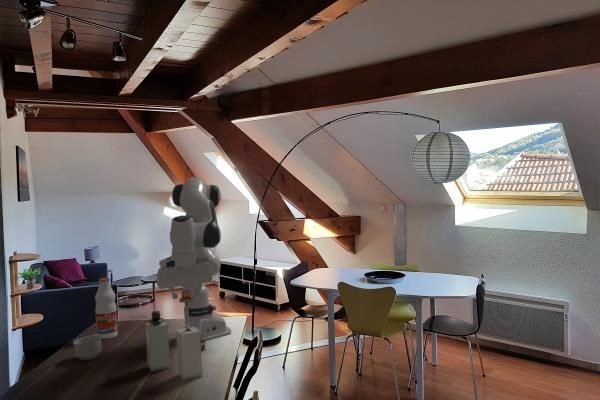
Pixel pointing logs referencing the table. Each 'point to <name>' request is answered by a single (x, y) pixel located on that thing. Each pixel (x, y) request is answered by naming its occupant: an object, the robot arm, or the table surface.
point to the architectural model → (202, 341)
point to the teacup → (87, 347)
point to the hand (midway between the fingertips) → (186, 297)
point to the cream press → (189, 353)
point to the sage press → (157, 346)
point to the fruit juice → (106, 310)
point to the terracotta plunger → (186, 305)
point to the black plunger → (156, 318)
